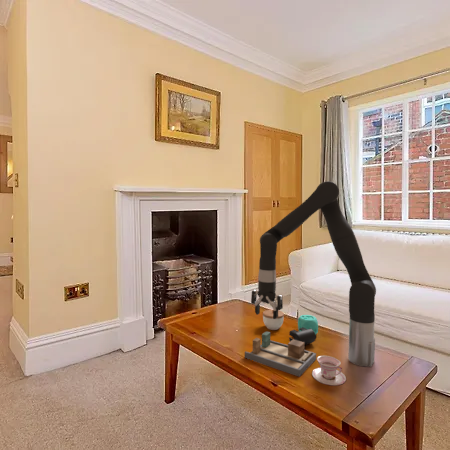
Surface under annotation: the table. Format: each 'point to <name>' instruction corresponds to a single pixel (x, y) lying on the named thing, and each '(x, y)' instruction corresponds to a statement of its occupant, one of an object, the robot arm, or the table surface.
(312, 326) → the decorative dice
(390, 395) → the table surface
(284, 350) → the strip
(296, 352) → the walnut cube
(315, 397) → the table surface
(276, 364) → the tray
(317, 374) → the teacup
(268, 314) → the lidded jar
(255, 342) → the strip
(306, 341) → the end cap
